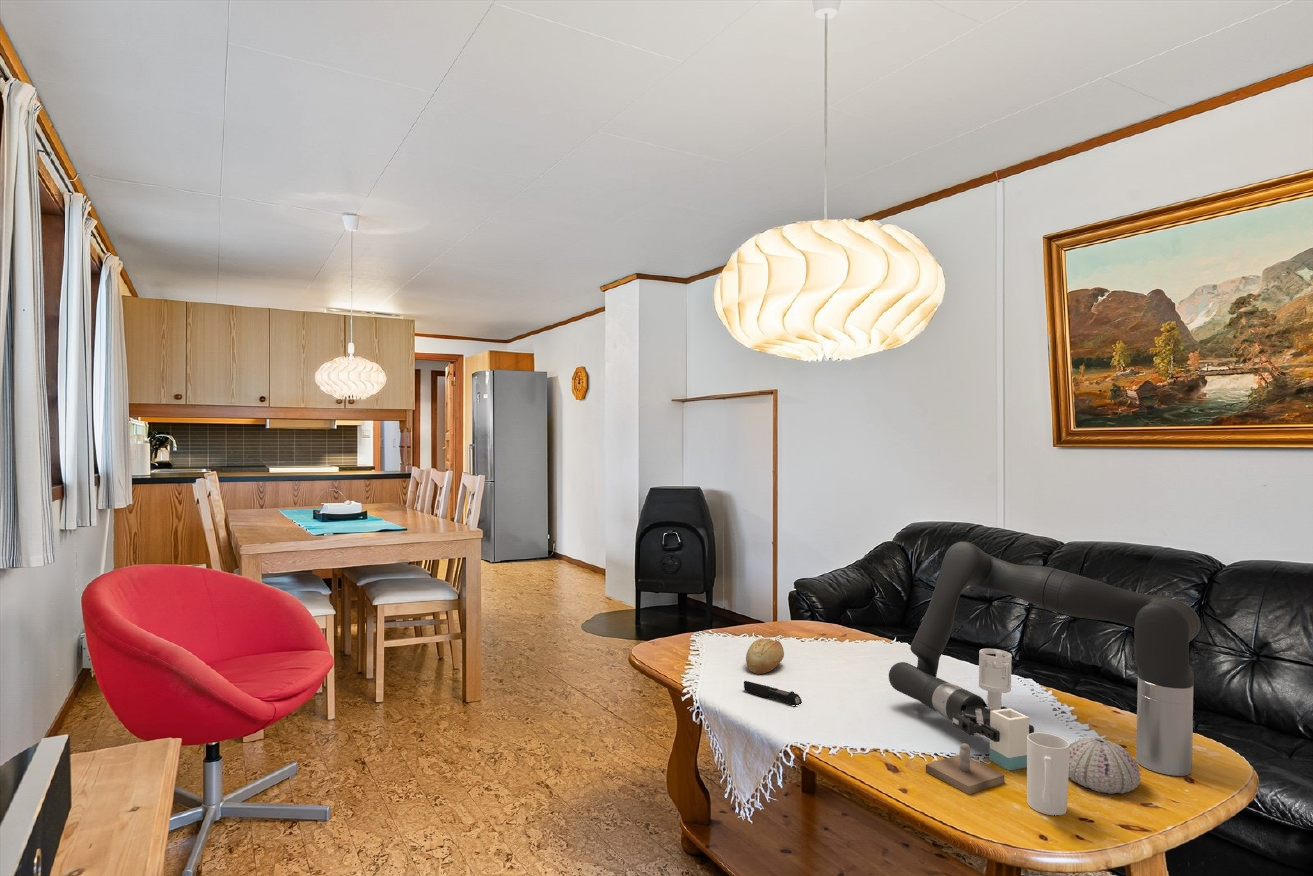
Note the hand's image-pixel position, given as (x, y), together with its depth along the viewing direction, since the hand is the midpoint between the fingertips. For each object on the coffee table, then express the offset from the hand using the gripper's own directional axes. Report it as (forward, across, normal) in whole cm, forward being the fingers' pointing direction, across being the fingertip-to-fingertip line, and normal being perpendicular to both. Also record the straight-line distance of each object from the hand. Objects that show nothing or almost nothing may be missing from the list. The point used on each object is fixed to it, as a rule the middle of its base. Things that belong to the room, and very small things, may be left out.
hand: (1015, 734), depth 149 cm
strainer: (-25, +18, +7) cm, 32 cm away
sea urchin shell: (+10, +11, +7) cm, 16 cm away
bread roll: (-69, -20, +7) cm, 72 cm away
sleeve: (-2, 0, +6) cm, 7 cm away
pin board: (+1, -13, +6) cm, 14 cm away
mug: (+15, -8, +7) cm, 18 cm away
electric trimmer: (-48, -29, +7) cm, 56 cm away
